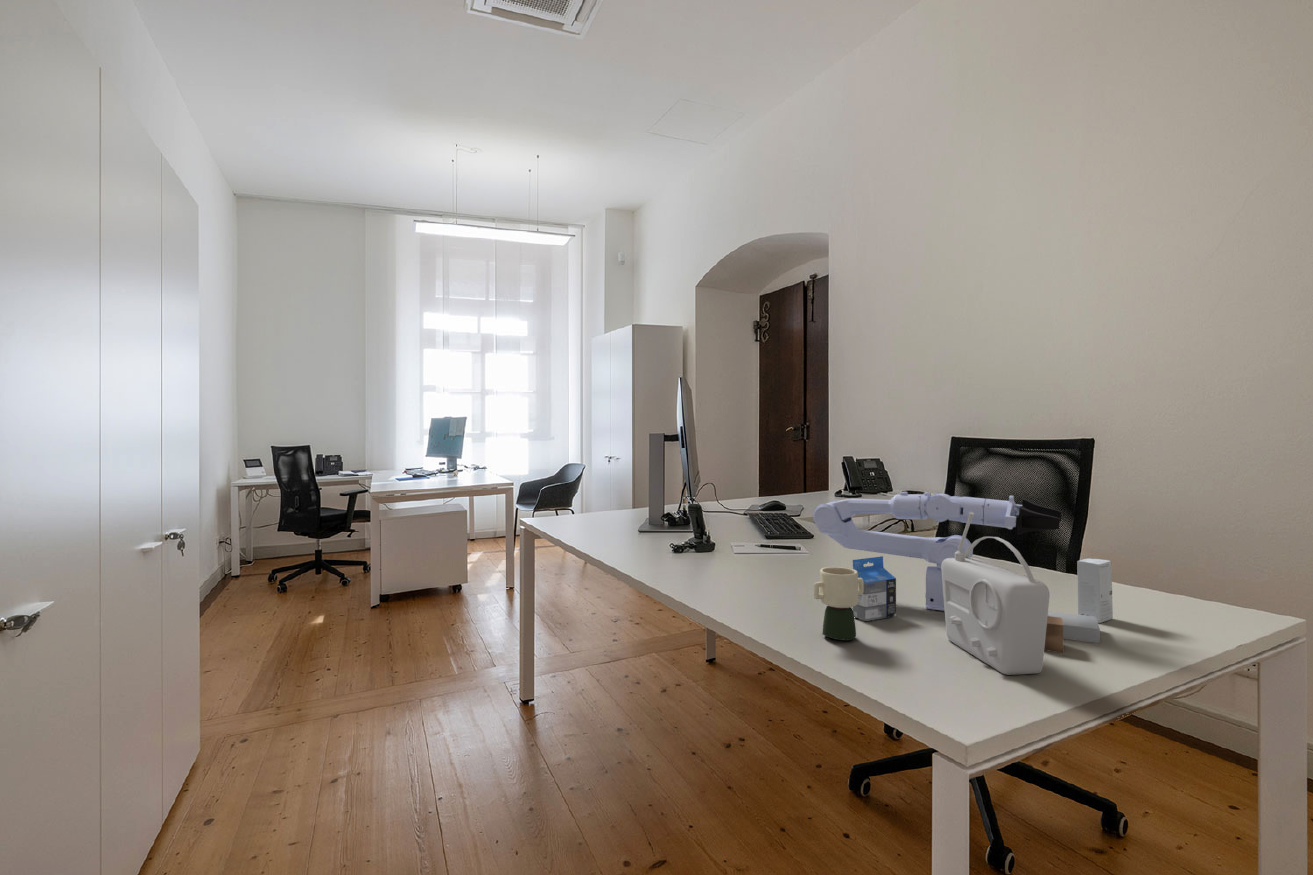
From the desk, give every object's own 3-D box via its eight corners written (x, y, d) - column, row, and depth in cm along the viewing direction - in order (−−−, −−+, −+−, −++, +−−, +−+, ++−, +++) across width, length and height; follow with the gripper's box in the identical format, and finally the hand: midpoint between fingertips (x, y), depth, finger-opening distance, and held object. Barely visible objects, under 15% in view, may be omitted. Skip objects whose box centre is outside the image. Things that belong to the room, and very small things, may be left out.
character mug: (852, 629, 125) (851, 564, 124) (875, 640, 118) (874, 572, 118) (804, 635, 121) (803, 569, 121) (825, 647, 114) (824, 577, 114)
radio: (932, 636, 120) (931, 507, 119) (973, 635, 120) (972, 506, 120) (1003, 682, 98) (1003, 524, 98) (1053, 680, 98) (1053, 523, 98)
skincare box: (1100, 623, 126) (1100, 564, 126) (1076, 618, 130) (1076, 560, 130) (1113, 618, 130) (1113, 560, 129) (1089, 613, 133) (1089, 557, 133)
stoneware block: (1042, 637, 120) (1042, 622, 120) (1042, 624, 127) (1041, 610, 127) (1099, 645, 115) (1099, 629, 115) (1095, 631, 123) (1095, 616, 123)
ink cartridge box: (865, 622, 129) (864, 563, 129) (851, 617, 132) (851, 559, 132) (897, 616, 133) (896, 559, 132) (883, 611, 136) (882, 555, 136)
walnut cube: (1030, 648, 113) (1030, 621, 113) (1030, 640, 117) (1030, 613, 117) (1063, 653, 110) (1063, 625, 110) (1062, 644, 115) (1062, 617, 115)
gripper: (981, 499, 128) (1059, 506, 120) (990, 488, 140) (1063, 494, 132) (979, 532, 129) (1057, 542, 121) (989, 519, 140) (1061, 527, 133)
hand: (1060, 519), depth 126 cm, fingers open, 7 cm apart
